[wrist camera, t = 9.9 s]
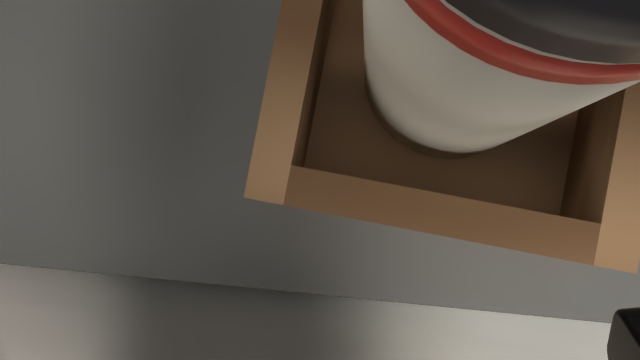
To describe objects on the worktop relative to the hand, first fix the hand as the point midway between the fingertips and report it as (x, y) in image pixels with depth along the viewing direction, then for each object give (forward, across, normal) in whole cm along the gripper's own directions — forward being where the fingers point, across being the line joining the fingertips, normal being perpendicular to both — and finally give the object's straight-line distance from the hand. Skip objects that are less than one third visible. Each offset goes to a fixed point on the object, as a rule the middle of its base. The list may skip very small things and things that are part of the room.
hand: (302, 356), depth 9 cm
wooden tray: (+11, -4, +1) cm, 11 cm away
